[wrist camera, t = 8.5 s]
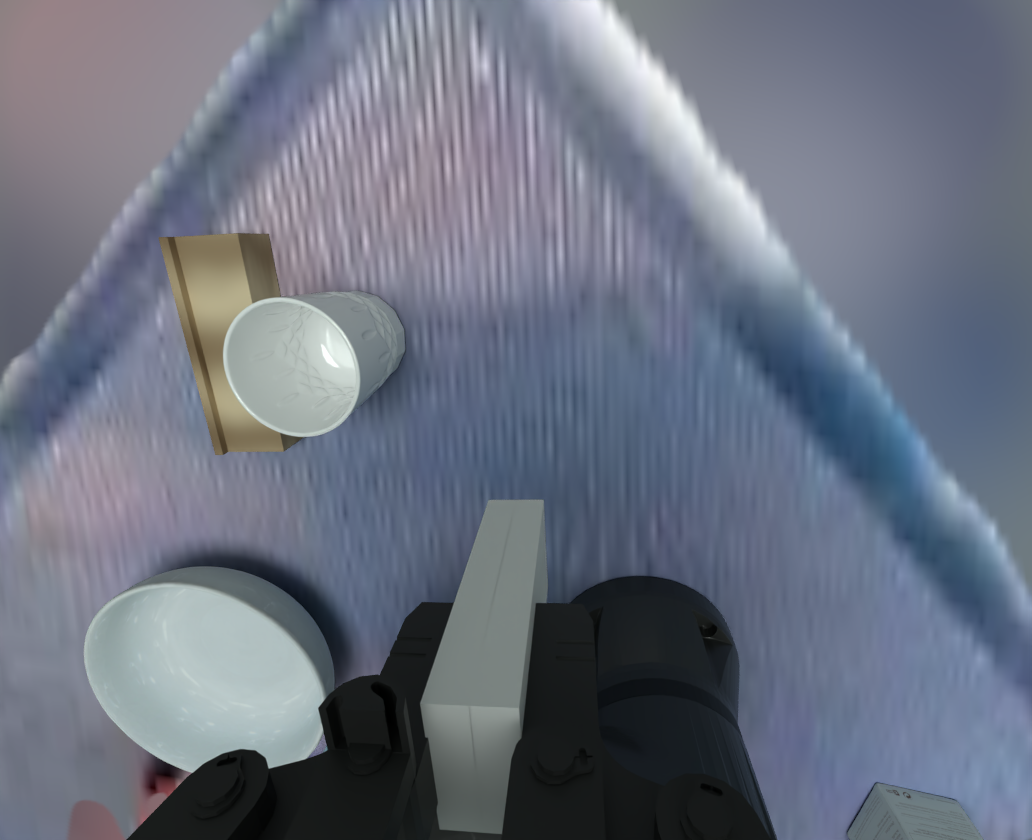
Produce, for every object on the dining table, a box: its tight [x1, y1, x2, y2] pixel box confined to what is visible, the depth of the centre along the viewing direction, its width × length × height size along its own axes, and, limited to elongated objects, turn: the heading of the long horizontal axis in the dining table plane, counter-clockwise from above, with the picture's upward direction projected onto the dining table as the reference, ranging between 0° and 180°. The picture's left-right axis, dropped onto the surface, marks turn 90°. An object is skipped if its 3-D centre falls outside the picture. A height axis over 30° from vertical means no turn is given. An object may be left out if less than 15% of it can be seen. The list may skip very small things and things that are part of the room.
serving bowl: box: [84, 566, 335, 773], centre depth 45 cm, size 21×21×7 cm
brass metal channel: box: [159, 233, 303, 455], centre depth 36 cm, size 15×5×4 cm, turn 3°
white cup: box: [223, 291, 405, 437], centre depth 33 cm, size 8×8×10 cm
